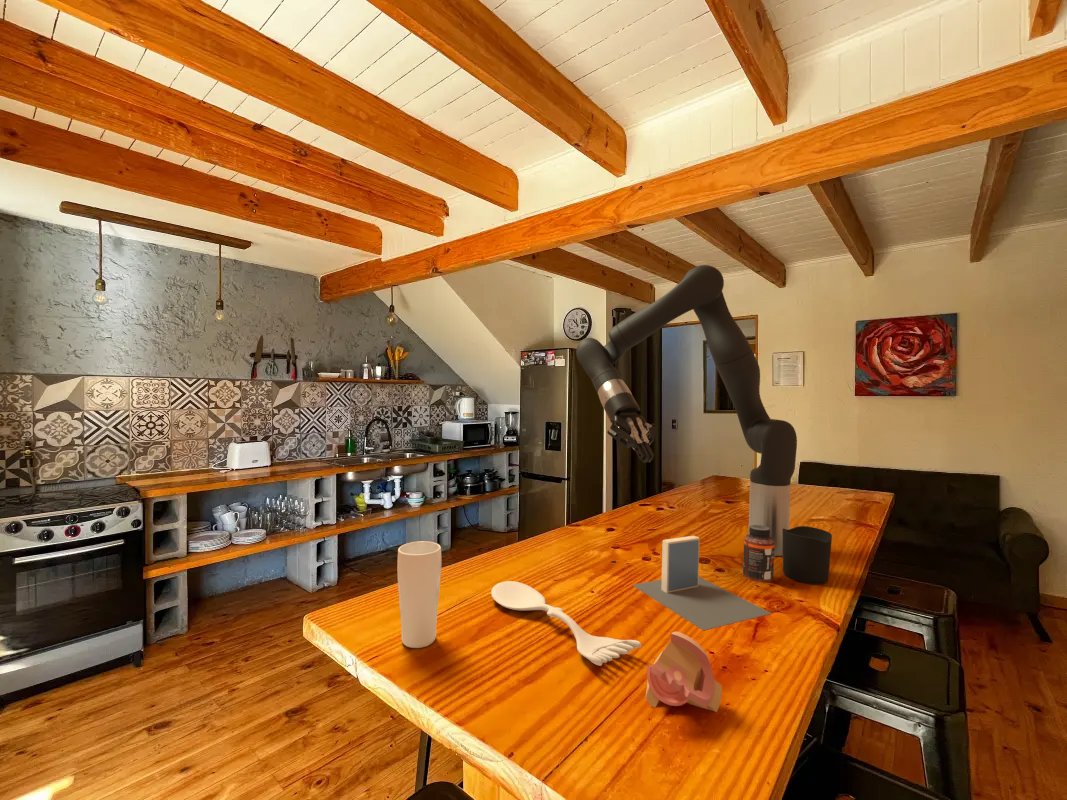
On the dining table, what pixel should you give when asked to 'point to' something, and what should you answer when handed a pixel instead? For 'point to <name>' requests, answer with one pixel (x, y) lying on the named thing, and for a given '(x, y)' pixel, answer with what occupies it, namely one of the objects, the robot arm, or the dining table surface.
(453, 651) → the dining table surface
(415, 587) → the drinking glass
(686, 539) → the tile
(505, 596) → the spoon
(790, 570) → the pen holder
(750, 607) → the mat
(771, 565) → the supplement bottle
